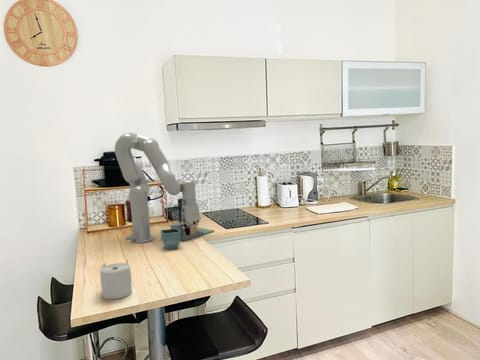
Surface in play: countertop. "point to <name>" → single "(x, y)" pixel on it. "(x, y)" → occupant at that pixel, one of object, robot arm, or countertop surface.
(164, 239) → the flower pot
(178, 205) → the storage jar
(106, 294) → the toilet tissue
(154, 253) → the countertop surface
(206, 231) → the mat
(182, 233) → the plain box
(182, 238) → the parts tray
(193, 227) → the labelled box
